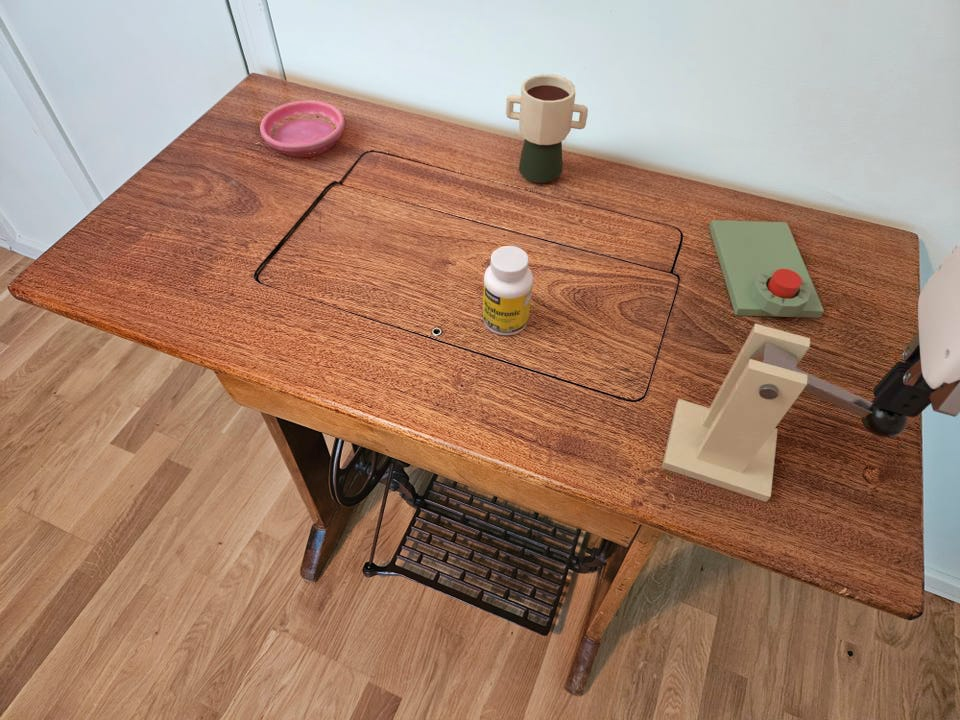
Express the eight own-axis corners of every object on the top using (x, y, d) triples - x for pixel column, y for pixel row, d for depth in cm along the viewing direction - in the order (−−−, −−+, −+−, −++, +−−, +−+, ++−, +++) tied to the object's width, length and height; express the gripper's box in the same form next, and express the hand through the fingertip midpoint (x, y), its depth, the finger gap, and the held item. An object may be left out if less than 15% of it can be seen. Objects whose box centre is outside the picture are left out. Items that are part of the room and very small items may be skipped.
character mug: (580, 165, 91) (594, 79, 81) (572, 194, 87) (586, 107, 77) (509, 153, 93) (513, 68, 83) (497, 181, 89) (501, 95, 78)
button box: (822, 324, 72) (834, 307, 70) (737, 322, 73) (745, 304, 70) (783, 229, 83) (792, 211, 81) (708, 227, 83) (715, 209, 81)
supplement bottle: (475, 329, 72) (475, 267, 64) (492, 297, 75) (494, 235, 67) (519, 343, 70) (525, 281, 63) (535, 310, 73) (542, 248, 66)
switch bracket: (773, 434, 63) (847, 334, 51) (766, 502, 59) (845, 410, 46) (675, 404, 65) (723, 301, 53) (661, 468, 61) (709, 371, 48)
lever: (887, 419, 53) (917, 401, 50) (888, 450, 51) (919, 433, 48) (747, 355, 53) (769, 334, 51) (742, 383, 51) (765, 363, 49)
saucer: (279, 173, 89) (273, 154, 87) (254, 130, 96) (249, 111, 94) (359, 149, 93) (356, 130, 91) (330, 110, 100) (327, 91, 97)
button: (799, 299, 71) (805, 288, 70) (771, 298, 71) (777, 287, 70) (791, 279, 73) (797, 269, 72) (764, 279, 73) (770, 268, 72)
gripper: (1184, 339, 30) (950, 501, 44) (1115, 166, 38) (938, 349, 53) (1011, 297, 31) (840, 467, 46) (981, 139, 40) (845, 325, 55)
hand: (893, 403), depth 49 cm, fingers closed
